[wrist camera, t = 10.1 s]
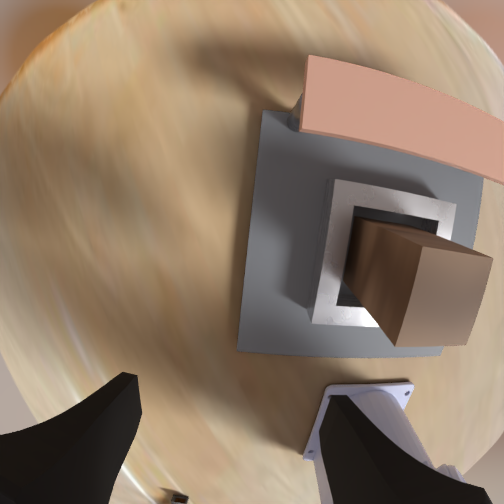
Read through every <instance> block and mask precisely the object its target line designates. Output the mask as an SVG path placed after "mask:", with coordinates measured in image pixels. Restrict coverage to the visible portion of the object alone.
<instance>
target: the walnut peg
mask: <svg viewBox="0 0 504 504" xmlns="http://www.w3.org/2000/svg"><path fill="white" fill-rule="evenodd" d="M492 262H493V258H491V257H489V256H486V255H484V254H482V253H479V252H477V251H475V250H472V249H470V248H467V247H465V246H463V245H460V244H458V243H455V242H453V241H450V240H448V239H445V238H442V237H440V236H437V235H435V234H432V233H429V232H427V231H424V230H421V229H419V228H416V227H413V226H410V225H405V224H399V223H393V222H388V221H382V220H376V219H370V218H364V217H358V216H354V222H353V228H352V234H351V240H350V245H349V251H348V256H347V261H346V266H345V271H344V276H343V282H344V283H345V284H346V285H347V286H348V288H349V289H350V290H351V291H352V293H353V294H354V295H355V296H356V298H357V299H358V300H359V301H360V303H361V304H362V305H363V306H364V308H365V309H366V310H367V312H368V313H369V314H370V315H371V317H372V318H373V319H374V320H375V322H376V323H377V324H378V326H379V327H380V328H381V330H382V331H383V332H384V333H385V335H386V336H387V337H388V339H389V340H390V341H391V343H392V344H393V345H394V347H433V346H457V345H466V344H467V341H468V338H469V336H470V333H471V331H472V328H473V325H474V322H475V319H476V317H477V314H478V311H479V308H480V305H481V301H482V298H483V295H484V292H485V288H486V285H487V281H488V277H489V274H490V270H491V266H492Z"/></svg>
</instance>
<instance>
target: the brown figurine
mask: <svg viewBox="0 0 504 504" xmlns="http://www.w3.org/2000/svg"><path fill="white" fill-rule="evenodd" d="M188 499H189V498H188V497H182V496H175V495H173V497H172V500H171V504H187V502H188Z"/></svg>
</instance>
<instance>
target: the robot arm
mask: <svg viewBox="0 0 504 504" xmlns="http://www.w3.org/2000/svg"><path fill="white" fill-rule="evenodd" d="M413 389H414V384H413V383H412V382H401V383H384V384H352V385H330V386H328V387H327V388H326V389H325V393H324V396H323V399H322V402H321V405H320V408H319V411H318V414H317V417H316V420H315V423H314V426H313V429H312V432H311V434H310V437H309V440H308V443H307V446H306V448H305V451H304V454H303V459H304V460H306V461H311V460H313V461H314V466H315V471H316V477H317V482H318V488H319V494H320V499H321V504H492V502H491V500H490V498H489V496H488V495H487V493H486V491H485V490H484V488H481V487H477V486H474V485H471V484H467V483H466V481H465V480H464V478H463V477H462V475H461V474H460V472H459V471H458V469H457V468H456V467H455V466H452V465H448V466H447V465H446V464H443V465H441V466H440V467H438V468H437V469H436V468H435V467H434V466H433V464H432V462H431V460H430V458H429V457H428V455H427V453H426V451H425V449H424V447H423V445H422V443H421V442H420V440H419V438H418V436H417V434H416V432H415V431H414V429H413V427H412V425H411V423H410V422H409V420H408V418H407V416H406V414H405V413H404V411H403V410H404V408H405V406H406V404H407V402H408V400H409V398H410V396H411V394H412V391H413ZM407 391H408V392H407ZM329 395H331V396H329ZM141 415H142V408H141V401H140V394H139V386H138V377H137V375H134V374H130V373H125V372H122V373H120V374H119V375H117V376H116V377H115V378H113V379H112V380H111V381H109V382H108V383H107V384H105V385H104V386H103V387H101V388H100V389H99V390H97V391H96V392H94V393H93V394H91V395H90V396H89V397H87V398H86V399H84V400H83V401H81V402H80V403H78V404H76V405H75V406H73V407H72V408H70V409H68V410H67V411H65V412H63V413H61V414H59V415H57V416H55V417H53V418H51V419H49V420H47V421H45V422H42V423H40V424H37V425H34V426H32V427H29V428H26V429H23V430H20V431H16V432H12V433H8V434H3V435H0V504H109V500H110V496H111V493H112V489H113V486H114V483H115V480H116V478H117V475H118V473H119V471H120V469H121V466H122V464H123V462H124V460H125V457H126V455H127V453H128V451H129V449H130V446H131V444H132V442H133V440H134V437H135V435H136V432H137V429H138V426H139V422H140V419H141Z"/></svg>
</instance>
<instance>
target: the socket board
mask: <svg viewBox="0 0 504 504" xmlns="http://www.w3.org/2000/svg"><path fill="white" fill-rule="evenodd" d="M484 178H486V179H489V180H491V181H494V182H497V183H499V184H502V185H504V122H503V121H501V120H500V119H498V118H496V117H494V116H492V115H490V114H488V113H486V112H484V111H482V110H480V109H478V108H476V107H474V106H472V105H470V104H468V103H465V102H463V101H461V100H459V99H456V98H454V97H452V96H449V95H447V94H445V93H442V92H440V91H437V90H435V89H432V88H430V87H427V86H424V85H421V84H419V83H416V82H413V81H410V80H407V79H404V78H401V77H398V76H395V75H392V74H388V73H385V72H382V71H378V70H375V69H371V68H367V67H364V66H360V65H356V64H352V63H347V62H343V61H339V60H334V59H329V58H324V57H319V56H314V55H308V57H307V59H306V62H305V72H304V83H303V93H302V94H301V96H300V98H299V99H298V101H297V103H296V105H295V106H294V108H293V110H292V111H291V113H287V112H280V111H272V110H263V113H262V122H261V131H260V140H259V149H258V158H257V167H256V176H255V185H254V194H253V203H252V212H251V221H250V230H249V239H248V249H247V258H246V267H245V276H244V286H243V295H242V304H241V314H240V323H239V333H238V342H237V351H241V352H251V353H263V354H275V355H290V356H308V357H334V358H400V357H425V356H440V355H441V352H442V350H443V347H444V346H433V347H394V345H393V344H392V343H391V341H390V340H389V339H388V337H387V336H386V335H385V333H384V332H383V331H382V330H381V328H380V327H379V326H378V324H377V323H376V322H375V320H374V319H373V318H372V317H371V315H370V314H369V313H368V312H367V310H366V309H365V308H364V306H363V305H362V304H361V303H360V301H359V300H358V299H357V298H356V296H355V295H354V294H353V293H352V291H351V290H350V289H349V288H348V286H347V285H346V284H345V283H344V282H343V276H344V271H345V266H346V261H347V256H348V251H349V245H350V240H351V234H352V228H353V222H354V216H358V217H364V218H370V219H376V220H382V221H388V222H393V223H399V224H405V225H410V226H413V227H416V228H419V229H421V230H424V231H427V232H429V233H432V234H435V235H437V236H440V237H442V238H445V239H448V240H450V241H453V242H455V243H458V244H460V245H463V246H465V247H467V248H470V249H472V250H473V245H474V240H475V235H476V230H477V224H478V218H479V211H480V204H481V197H482V188H483V179H484Z"/></svg>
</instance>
